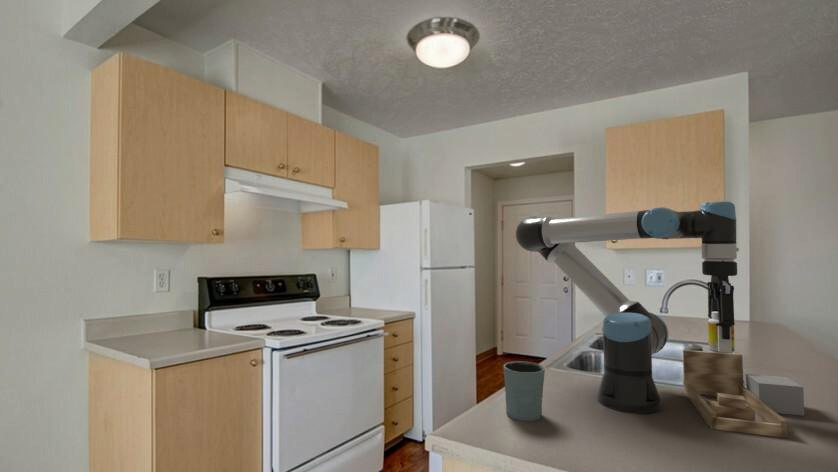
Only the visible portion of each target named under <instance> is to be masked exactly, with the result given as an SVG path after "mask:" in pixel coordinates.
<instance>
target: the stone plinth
mask: <svg viewBox="0 0 838 472" xmlns="http://www.w3.org/2000/svg"><path fill="white" fill-rule="evenodd" d="M745 384H746V385H745V386H746V387H745V388H747V389H748V390H749V391H750V392H751V393H753V394H754V395H755V396H756V397H758V398H759V399H760V400H761V401H762V402H764V403H765V404H766V405H767V406H768V407H770V408H771V409H772V410H773V411H775V412H776V413H777V414H783V415H784V414H786V415H793V416H805V401H804V400H805V399H804V395H805V394H804V387H803V386H802V385H800V384H799V383H797V382H796V381H794V380H792V379H791V378H789V377H787V376H777V375H766V374H765V375H764V374H752V373H745Z"/></svg>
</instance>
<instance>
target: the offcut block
mask: <svg viewBox="0 0 838 472" xmlns="http://www.w3.org/2000/svg"><path fill="white" fill-rule="evenodd" d="M716 398H717V400H716V401H718V404H719V405H721V406H728V407H735V408H742V409H746V400H745V398H744V397H743V396H738V395H730V394H722V393H717V396H716Z"/></svg>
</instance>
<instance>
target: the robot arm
mask: <svg viewBox="0 0 838 472" xmlns="http://www.w3.org/2000/svg"><path fill="white" fill-rule="evenodd" d="M515 238H516V241H517V244H518V245H519V246H520V247H521V248H522V249H524V250H526V251H529V252H535V253H536V252H538V254H540V255H541V256H542V258H544V259H545V261H546V262H548V263H552V264H556V266H558V267H559V269H560V270H561V271H562V272H563V273H564V274H565V276H567V277H568V279H570V280H571V281H572V282H573V284H574V285H575V286H576V287H577V289H579V290H580V291H581V292H582V293H583V294H584V295H585V297H587V298H588V300H589V301H590V302H591V303H592V304H593V305H594V306H595V307H596V308H597V309H598V310H599V311H600V312H601V314H602V315H603V316H605V317H604V318H603V323H602V330H601V331H602V341H603V343H602V344H603V373H602V374H603V375H602V377H601V381H600V384H599V387H598V389H597V400H598V402H599V403H600V404H601V405H603V406H605V407H606V408H607V407H608V408H610V409H613V410H617V411H621V412H625V413H632V414H633V413H634V414H651V413H657V412H658V411H660V410H661V408H662V403H661V397H660V394H659V391H658V388H657V385H656V383H655V381H654V377H653V358H652V357H653V355H655V354H657V353H659V352H660V351H661V350H663V349H664V347H665V345H666V344H667V342H668V340H669V329H668V326H667V324H666V323H665V321H664V320H663V319H662V318H661V317H660V316H659V315H657V314H655V313H653V312H649V310H647V309H646V307H644V306H643V305H642V304H641V303H640V302H639V301H637V300H636V301H634V300H630V298H628V297H627V296H626V295H625V294H624V293H623V292H622V291H621V290H620V289H619V288H618V287H617V286H616V285H615V284H614V283H613V282H612V281H611V280H610V279H609V278H608V277H607V276H606V275H605V274H604V273H603V272H602V271H601V270H600V269H599V268H598V267H597V266H596V265H595V264H594V263H593V262H592V261H591V260H590V259H589V258H588V257H587V256H585V254H584V253H583V252H582V251H581V250H580V249H579V248H578V247H577V246H576V243H591V242H604V241H605V242H606V241H610V242H611V241H621V240H622V241H625V240H642V239H643V240H644V239H656V240H657V239H658V240H660V239H661V240H672V239H673V240H674V239H680V240H681V239H701V258H702V259H703V260H704V261H702V263H701V265H702V268H701V269H702V275H704V276H710V277H711V278H710V281H707V283H706V285H707V308H708V309H707V317H708V319H712V316H711V315H712V312H714V311H718V317H719V323H716V326H718V351H719V352H731V353H732V337H731V327H732V325H734V326H735V325H736V324H735V307H734V305H735V303H734V293H735V292H734V291H735V286H734V285H732V284H731V283H730V280H729V277H735V276H737V275H738V263H737V262H736V261H734V260H736V259H737V255H738V254H737V252H739V251H740V248H739V247H737V216H736V205H735V204H734V203H733V202H732V201H722V200H721V201H710V202H703V203H702V204H701V205H700V208H699V210H693V211H689V210H688V211H676V210H672V209H670V208H667V207H665V206H663V207H654V208H650V209H645V210H634V211H623V212H614V213H606V214H604V213H603V214H595V215H586V216H585V215H583V216H574V217H563V218H554V217H551V216H530V217H526V218H524V219H523V220H522V221H520V222H519V223H518V225H517V227H516V230H515Z"/></svg>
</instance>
